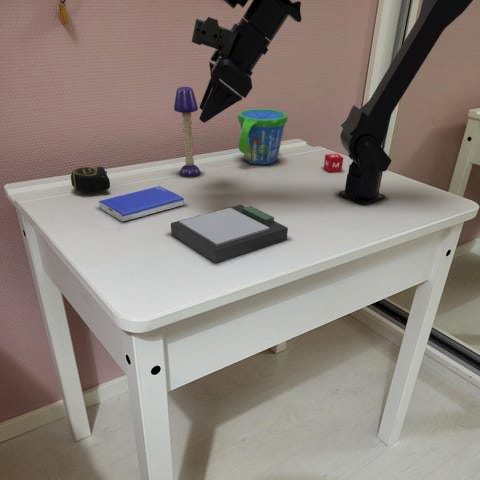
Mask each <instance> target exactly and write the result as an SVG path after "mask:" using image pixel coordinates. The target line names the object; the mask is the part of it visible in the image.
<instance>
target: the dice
mask: <svg viewBox="0 0 480 480" xmlns="http://www.w3.org/2000/svg"><path fill="white" fill-rule="evenodd" d="M343 163H344V157H343V156H342V155H340V154H339V153H327V154H326V153H325V154H324V162H323V169H324V170H325V171H327V172H328V173H339V172H341V173H342V172H343V171H342V170H343Z"/></svg>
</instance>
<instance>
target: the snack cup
mask: <svg viewBox="0 0 480 480" xmlns="http://www.w3.org/2000/svg"><path fill="white" fill-rule="evenodd" d="M237 119H238V122H239V124H240V134H239V135H240V136H239V141H238V150H239V152H240V153H242V154H243V156H244V160H245V161H247V162H248V163H250V164H254V165H263V166H264V165H271V164H274V163H275V162H276V161H278V158H279V152H280V148H281V144H282V139H283V134H284V128H285V125H286V123H287V121H288V115H287V113H285V112H283V111H280V110H275V109H270V108H269V109H267V108H250V109H245V110H242V111H240V112H239V113H238V115H237Z"/></svg>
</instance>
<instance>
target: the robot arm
mask: <svg viewBox="0 0 480 480" xmlns="http://www.w3.org/2000/svg"><path fill="white" fill-rule="evenodd" d="M222 1H223V2H224V3H226V5H227V6H229V7H230V8H231V9H232V10H234V9H235V8H236V7H237V5H239V6H240V7H241V8H242V9H243V8H244V7H245V6H246V5H247V3H248V2H249V0H222ZM473 1H474V0H422V3H421V6H420V10H419V15H418V17H417V18H416V21H415V22H414V24H413V26H412V28H411V29H410V31H409V33H408V34H407V36H406V38H405V39H404V41H403V43H402V44H401V46H400V48H399V50H398V51H397V52H396V55H395V56H394V58H393V60H392V61H391V63H390V64H389V66H388V68H387V70H386V72H385V73H384V75H383V77H382V78H381V80H380V82H379V83H378V85H377V87H376V88H375V90H374V92H373V93H372V95H371V97H370V99H368V101H367V102H366V103H365V104H364V105H363V106H361V107H360V108H359V107H357V106H356V105H355V104H354V105H352V107H351V109H350V111H349V113H348V116H347V118H346V119H345V120H344V122H342V123H341V124H340V127H341V128H342V130H341V133H340V135H339V136H340V137H339V138H340V143H341V145H342V147H343V148H344V149H345V151H346V152H347V153H348V154H347V155H348V157H349V159H351V160H352V161H351V164H349V166H348V170H347V174H346V180H345V187H344V190H340V191H338V196H341V197H343V198H346V199H349V200H351V201H353V202H355V203H359V204H362V205H367V204H371V203H373V202H377V201H379V200H382V199H385V198H386V194H383V193H380V189H381V183H382V178H383V173H384V172H387V170H388V168H389V167H390V165H391V163H392V159H391V157H389V155H388V154H387V153H386V151H385V150H384V148H383V147H382V145H383V143H384V141H385V139H386V136H387V134H388V130H389V126H390V123H391V118H392V114H393V113H394V111H395V109H396V108H397V106H398V105H399V103H400V102H401V99H402V98H403V96H404V95H405V93H406V92H407V90H408V88H409V87H410V85H411V83H412V82H413V81H414V79H415V77H416V75H417V74H418V73H419V71H420V69H421V67H422V66H423V65H424V63H425V61H426V59H427V58H428V57H429V54H430V53H431V51H432V50H433V48H434V47H435V45H436V44H437V42H438V40H439V38H440V37H441V35H442V34H443V32H444V31H445V30H446V28H448V26H450V25H451V24H452V23H453V22H454V21H455V20H456V19H458V18H459V17H460V16H461V15H462V14H463V13H465V11H466V10H467V9H468V7H469V6H470V5H471V4H472V2H473ZM301 7H302V2H301V1H300V0H296V1H291V0H252V1H251V3H250V4H249V6H248V7H247V9H246V11H245V12H244V14H243V15H242V17H241V18H240V20H239V21H238V22H237V23H234V24H233V26H232V27H231V28H230V29H229V28H227V27H224V26H221V25H219V20H218V19H217V18H213V17H210V16H207V18H206V19H205V20H203V19H200V18H196V19H195V23H194V27H193V32H192V36H191V43H192V44H195V45H197V46H198V45H199V46H201V45H203V46H206V47H209V48H213V49H214V51H213V53H212V54H211V56H210V58H209V60H210V61H208V64H209V65H208V66H209V70H210V71H209V72H210V73H209V75H210V78H209V81H208V84H207V86H206V89H205V91H204V93H203V96H202V99H201V101H200V104H199V109H200V110H201V113H200V115H199V121H201V122H202V123H204V124H205V123H207V122H209V121H210V120H212V119H213V118H214V117H216V116H217V115H219V114H221V113H222V112H224V111H225V110H227V109H229V108H230V107H232V106H233V105H235V104H236V103H238V102H241V101H242V100H243V98H244V99H246V98H247V97H248V95H249V94H250V92H251V91H252V89H253V82H252V77H251V76H252V75H253V70H254V68H255V67H256V65H257V63H258V62H259V61H260V59H261V58H262V56H263V55H264V56H265V55H266V54H267V53H268V52H269V48H268V47H269V45H271V43H272V42H273V39H275V37H276V35H277V34H278V32H279V31H280V29H281V28H282V26H283V25H284V24H285V22H286V21H287V19H288V17H289V18H290V19H292V20H293V21H294V22H296V23H301V22H302V19H303V18H302V15H301V13H302V11H301Z"/></svg>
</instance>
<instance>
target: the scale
mask: <svg viewBox="0 0 480 480" xmlns="http://www.w3.org/2000/svg"><path fill="white" fill-rule="evenodd" d="M288 231H289V227H287V226H285V225H284V224H281V223H279V222H277V221H276V220H275V217H274V216H273V215H271V214H269V213H267V212H264V211H262V210H261V209H258V208H256V207H254V206H253V205H247V206H245V205H242V204H237V205H234V206H229V207H226V208H222V209H217V210H215V211H211V212H207V213H203V214H199V215H196V216H191V217H189V218H184V219H180V220H177V221H176V220H175V221H173V222H170V234H171V236H173V237H174V238H176V239H177V240H179V241H181V242H182V243H183V244H185V245H187V246H188V247H190V248H191V249H193V250H195V252H197V253H199V254H201V255H202V256H204V257H205V258H207V259H208V260H210V261H212V262H213V263H214V264H217V263H220V262H223V261H226V260H229V259H231V258H235V257H238V256H242V255H244V254H247V253H250V252H253V251H256V250H260V249H262V248H265V247H268V246H271V245H275V244H277V243H280V242H282V241H286V240H288V234H289V233H288Z"/></svg>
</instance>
